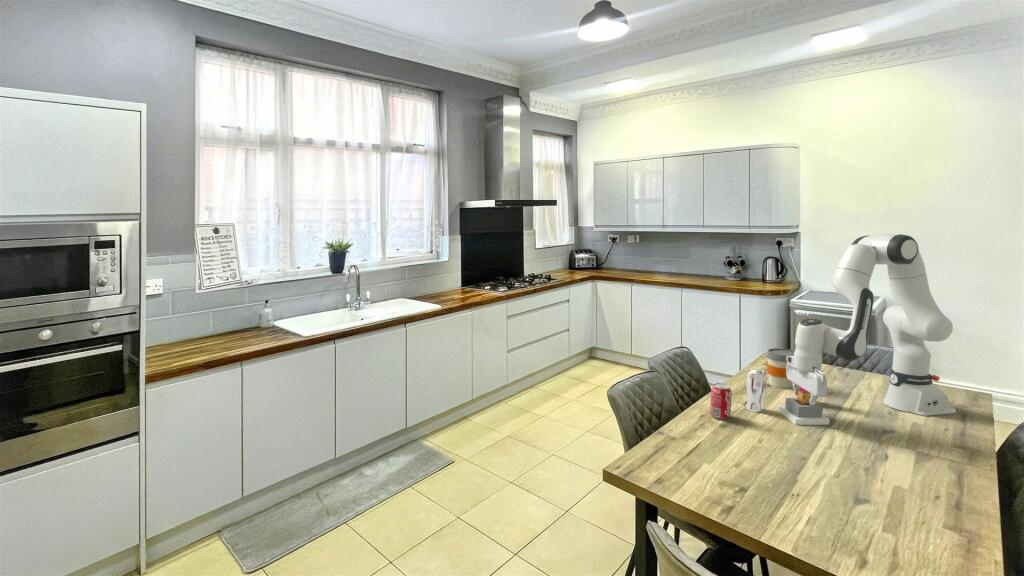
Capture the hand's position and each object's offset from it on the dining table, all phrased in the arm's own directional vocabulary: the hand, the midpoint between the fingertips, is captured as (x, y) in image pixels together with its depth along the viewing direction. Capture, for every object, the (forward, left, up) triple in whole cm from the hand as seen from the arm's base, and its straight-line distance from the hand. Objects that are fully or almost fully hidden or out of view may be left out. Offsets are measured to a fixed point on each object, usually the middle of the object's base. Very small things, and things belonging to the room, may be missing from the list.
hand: (804, 399), depth 180 cm
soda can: (+30, -1, -7) cm, 31 cm away
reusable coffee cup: (-10, -35, -7) cm, 37 cm away
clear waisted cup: (+14, -8, -7) cm, 18 cm away
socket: (0, 0, -7) cm, 7 cm away
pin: (0, 0, -7) cm, 7 cm away
